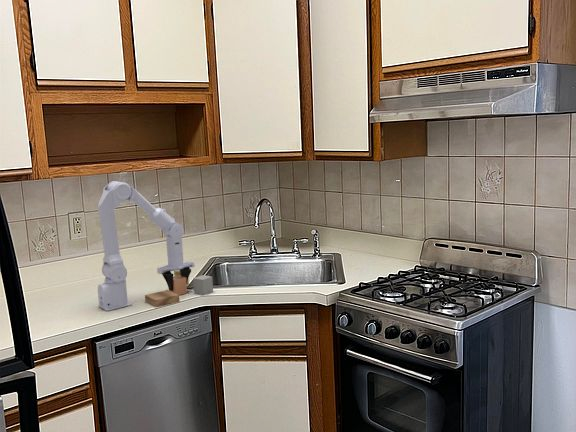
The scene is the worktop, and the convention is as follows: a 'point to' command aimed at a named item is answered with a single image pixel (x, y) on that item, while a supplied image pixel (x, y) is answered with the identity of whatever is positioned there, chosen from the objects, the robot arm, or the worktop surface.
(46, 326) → the worktop surface
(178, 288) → the terracotta block
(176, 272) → the supplement bottle
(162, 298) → the walnut slab
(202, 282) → the slate block
